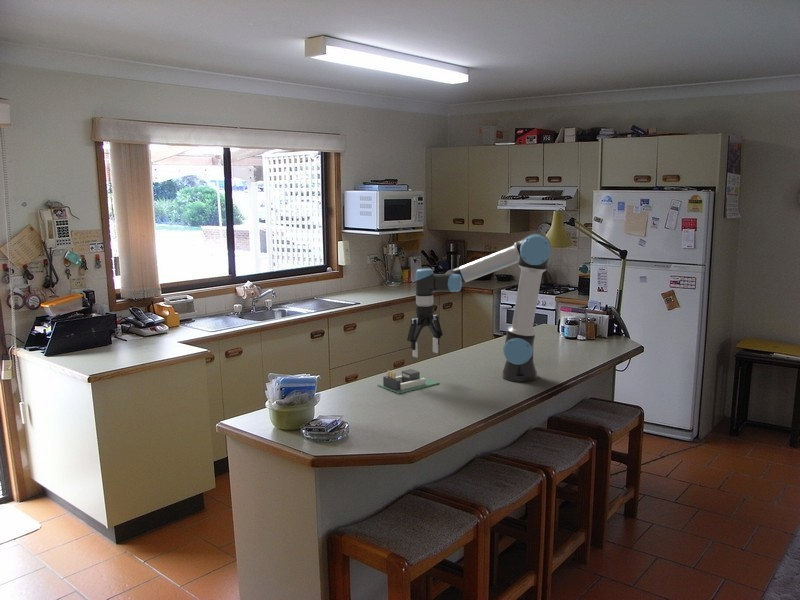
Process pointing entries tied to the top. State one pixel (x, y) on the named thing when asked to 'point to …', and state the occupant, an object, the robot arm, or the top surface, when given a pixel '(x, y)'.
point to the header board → (427, 383)
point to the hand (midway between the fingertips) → (425, 354)
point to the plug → (410, 375)
